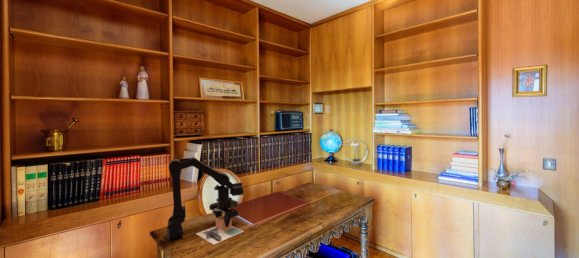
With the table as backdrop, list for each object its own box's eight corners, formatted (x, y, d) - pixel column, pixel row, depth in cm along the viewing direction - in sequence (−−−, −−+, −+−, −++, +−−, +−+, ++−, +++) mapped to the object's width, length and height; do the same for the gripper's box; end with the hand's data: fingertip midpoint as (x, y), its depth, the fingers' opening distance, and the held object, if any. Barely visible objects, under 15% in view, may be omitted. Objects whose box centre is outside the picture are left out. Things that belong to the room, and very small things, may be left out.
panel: (213, 247, 122) (213, 238, 121) (195, 235, 132) (195, 227, 132) (243, 233, 135) (243, 225, 135) (225, 224, 146) (225, 217, 145)
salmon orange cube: (222, 230, 136) (222, 221, 135) (215, 227, 140) (215, 218, 139) (231, 226, 140) (231, 217, 140) (225, 223, 144) (224, 214, 144)
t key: (206, 237, 128) (206, 231, 127) (216, 233, 132) (216, 227, 132) (214, 243, 123) (214, 236, 122) (225, 238, 127) (225, 232, 127)
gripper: (246, 197, 139) (246, 225, 140) (225, 189, 151) (225, 215, 152) (229, 202, 130) (229, 232, 131) (208, 194, 143) (209, 221, 144)
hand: (223, 225), depth 140 cm, fingers closed on salmon orange cube, 6 cm apart
